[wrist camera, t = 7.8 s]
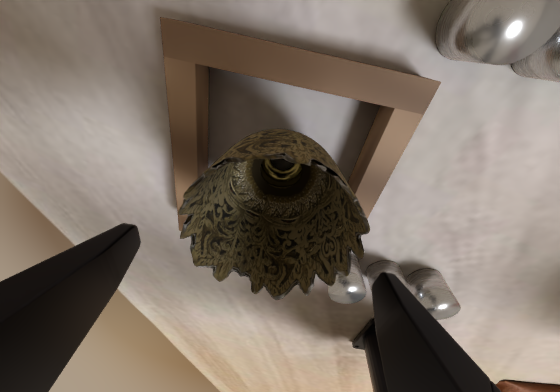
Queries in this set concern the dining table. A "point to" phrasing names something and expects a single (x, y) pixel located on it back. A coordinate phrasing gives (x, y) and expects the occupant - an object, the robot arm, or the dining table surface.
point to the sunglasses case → (526, 386)
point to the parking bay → (294, 71)
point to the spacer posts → (481, 49)
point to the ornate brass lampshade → (274, 215)
